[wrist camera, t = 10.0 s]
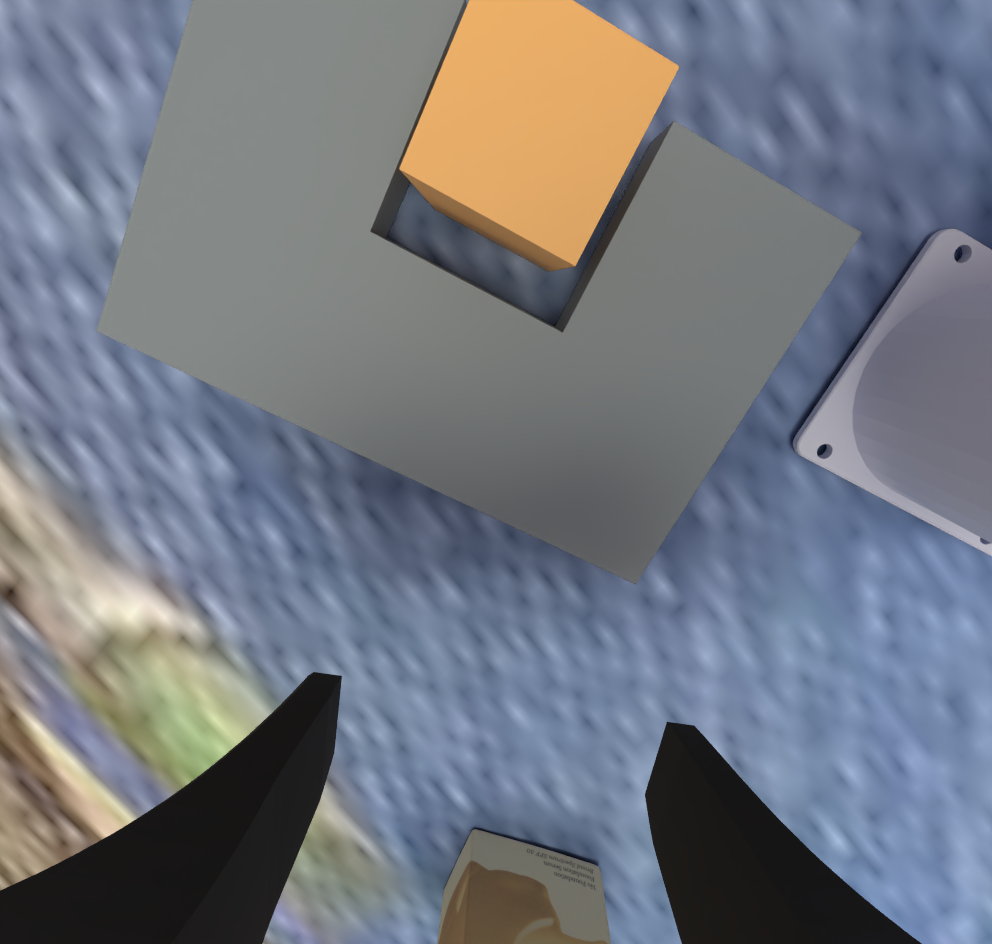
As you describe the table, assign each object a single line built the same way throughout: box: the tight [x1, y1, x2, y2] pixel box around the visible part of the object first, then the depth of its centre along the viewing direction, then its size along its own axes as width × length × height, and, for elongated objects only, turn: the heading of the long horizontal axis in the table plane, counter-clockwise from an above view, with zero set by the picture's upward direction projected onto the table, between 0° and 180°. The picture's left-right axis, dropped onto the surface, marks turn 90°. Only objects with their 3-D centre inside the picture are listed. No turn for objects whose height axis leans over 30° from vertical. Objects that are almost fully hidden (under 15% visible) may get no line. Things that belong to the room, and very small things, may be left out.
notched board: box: [97, 0, 862, 584], centre depth 18 cm, size 18×12×2 cm, turn 63°
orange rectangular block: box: [399, 0, 680, 272], centre depth 15 cm, size 4×4×7 cm
